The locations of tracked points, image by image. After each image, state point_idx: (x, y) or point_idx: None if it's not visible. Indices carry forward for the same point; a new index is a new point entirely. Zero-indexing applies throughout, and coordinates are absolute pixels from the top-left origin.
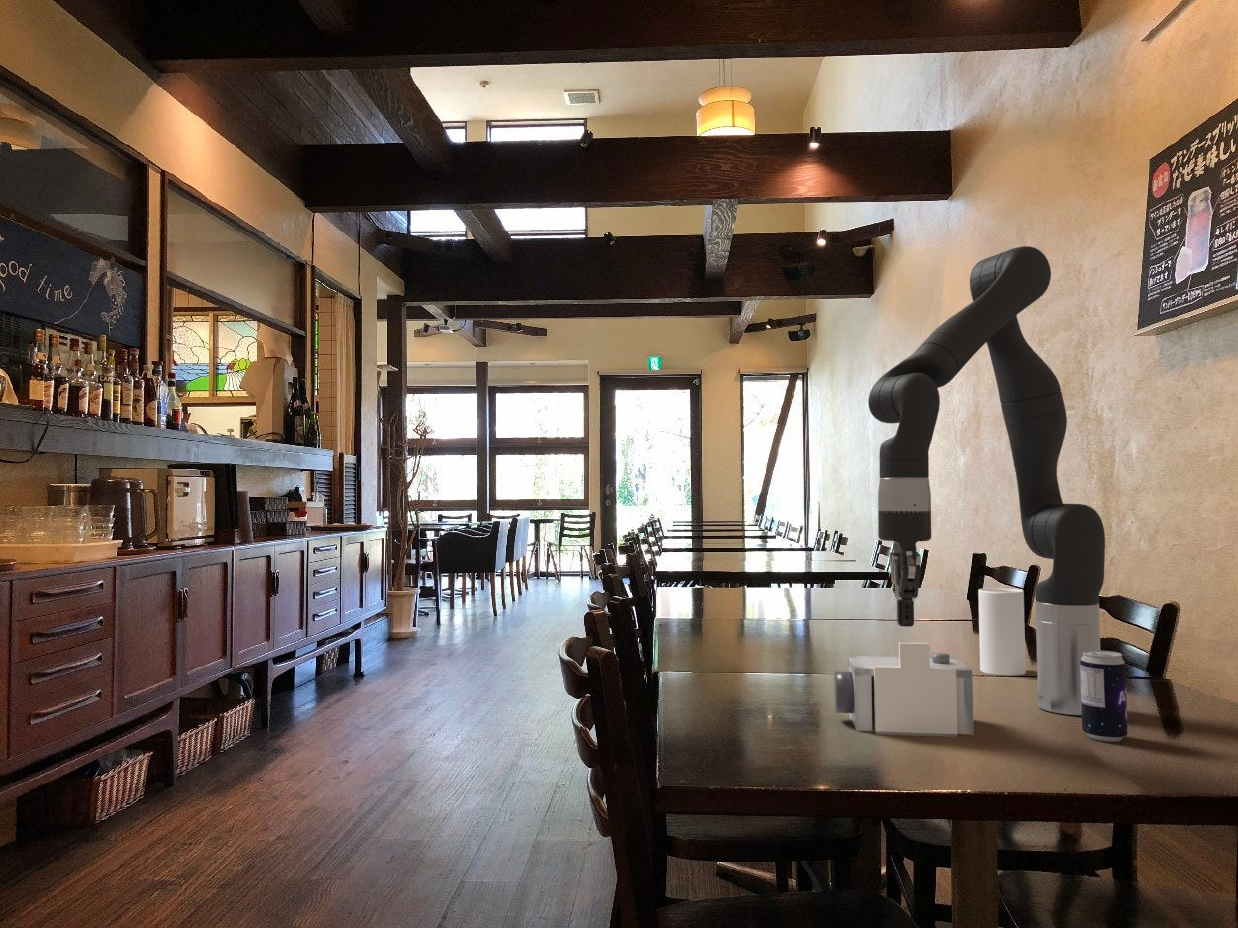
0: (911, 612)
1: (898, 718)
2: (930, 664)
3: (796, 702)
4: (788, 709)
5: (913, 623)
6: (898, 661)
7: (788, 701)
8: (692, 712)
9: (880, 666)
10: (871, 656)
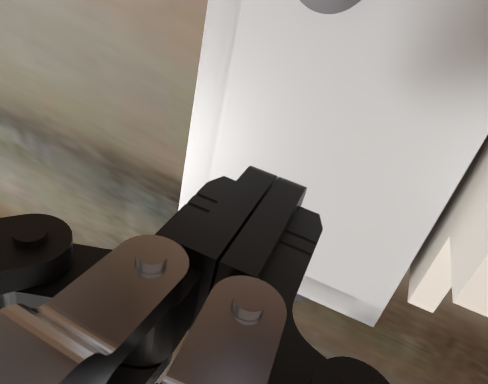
0: (310, 259)
1: None
2: (371, 43)
3: (101, 183)
4: (153, 220)
5: (302, 190)
6: (281, 140)
7: (95, 193)
8: (174, 351)
9: (423, 288)
10: (183, 180)
